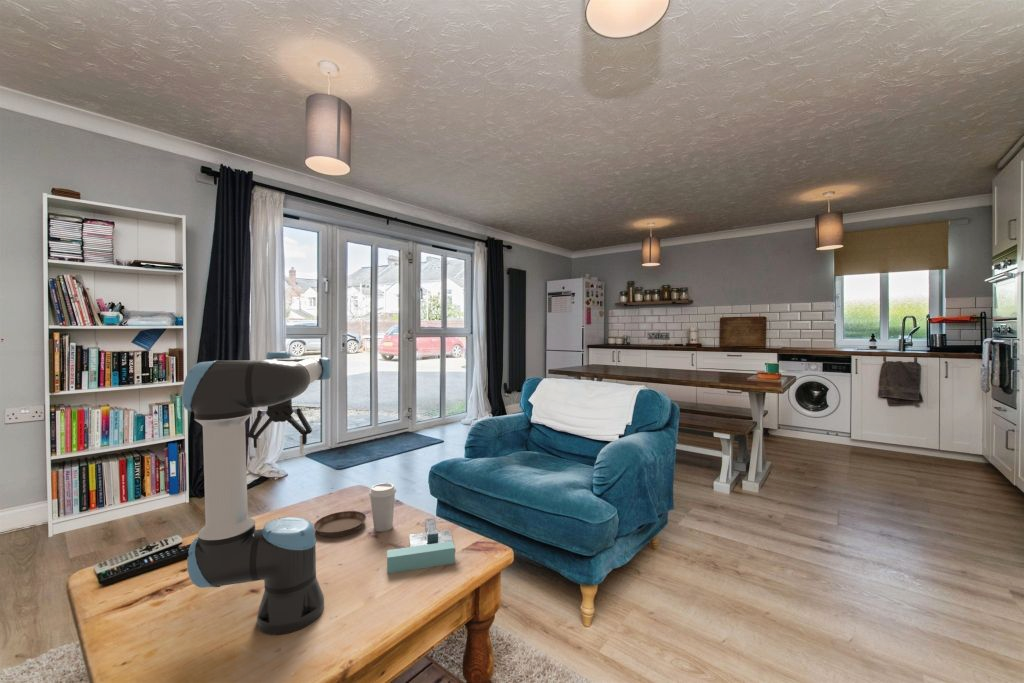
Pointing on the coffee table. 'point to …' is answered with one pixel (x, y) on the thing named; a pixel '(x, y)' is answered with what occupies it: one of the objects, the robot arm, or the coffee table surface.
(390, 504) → the coffee cup
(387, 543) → the coffee table surface
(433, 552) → the bar
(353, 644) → the coffee table surface
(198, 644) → the coffee table surface
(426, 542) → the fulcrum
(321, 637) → the coffee table surface
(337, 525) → the plant saucer
